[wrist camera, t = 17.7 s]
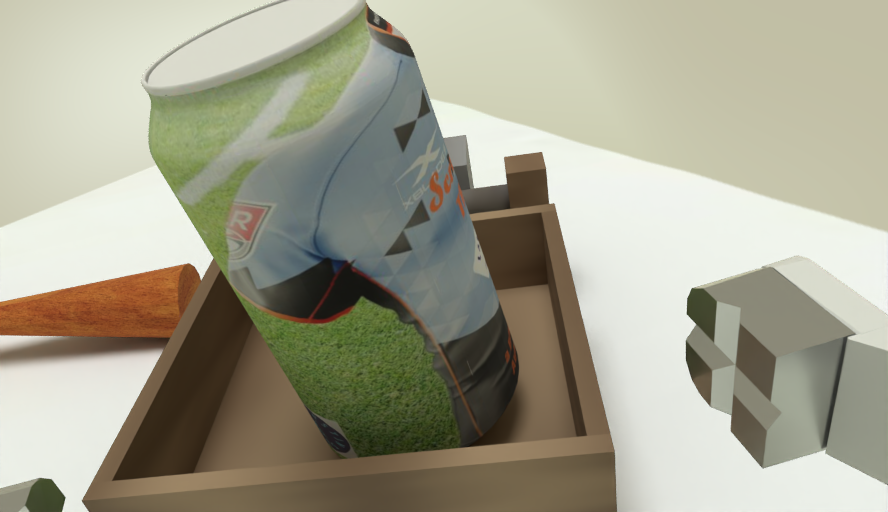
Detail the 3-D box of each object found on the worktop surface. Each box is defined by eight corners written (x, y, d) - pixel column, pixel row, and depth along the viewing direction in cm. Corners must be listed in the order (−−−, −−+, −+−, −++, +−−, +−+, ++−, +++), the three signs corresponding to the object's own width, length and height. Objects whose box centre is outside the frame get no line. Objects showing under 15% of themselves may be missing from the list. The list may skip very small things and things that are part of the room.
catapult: (175, 642, 19) (81, 501, 16) (300, 273, 34) (265, 163, 31) (620, 611, 18) (614, 451, 15) (546, 243, 33) (535, 125, 30)
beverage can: (564, 436, 19) (523, -20, 13) (308, 556, 17) (109, 90, 11) (467, 319, 24) (402, -50, 18) (261, 401, 22) (106, 21, 16)
